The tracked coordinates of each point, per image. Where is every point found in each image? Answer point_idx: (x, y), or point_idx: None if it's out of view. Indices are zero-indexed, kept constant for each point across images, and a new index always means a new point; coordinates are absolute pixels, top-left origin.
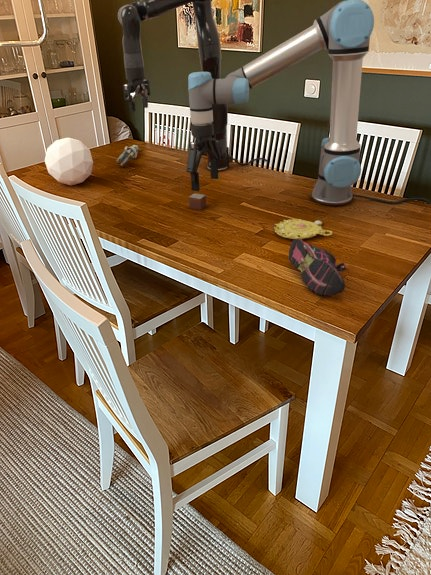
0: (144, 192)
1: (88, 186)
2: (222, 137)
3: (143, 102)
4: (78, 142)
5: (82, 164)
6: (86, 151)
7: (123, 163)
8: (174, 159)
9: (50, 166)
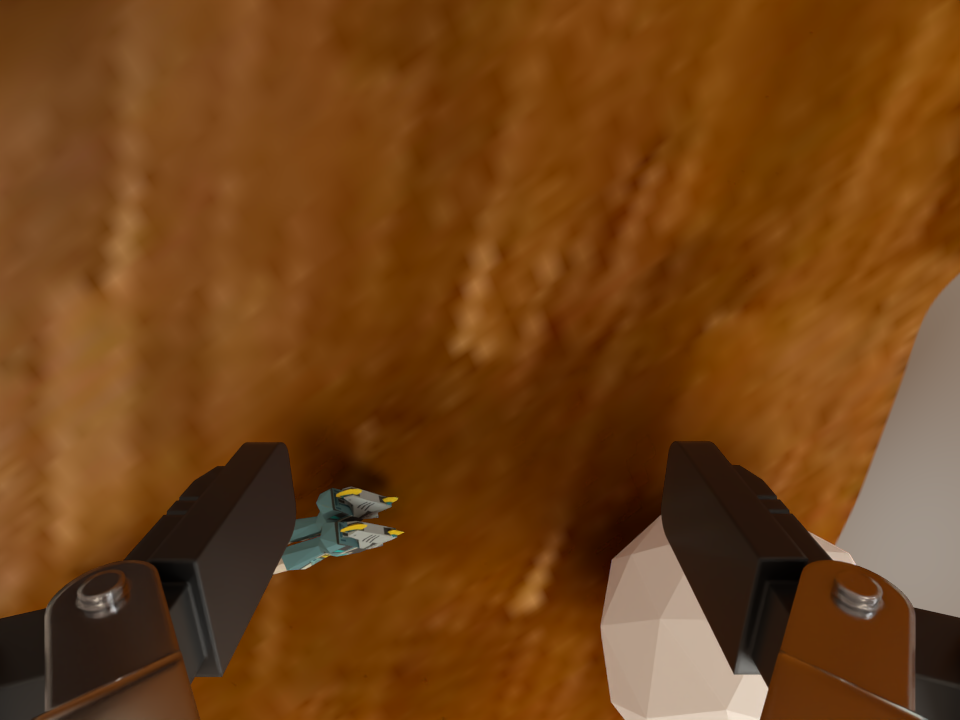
0: (706, 110)
1: None
2: None
3: (258, 567)
4: (763, 698)
5: None
6: None
7: (381, 497)
8: (84, 312)
9: None
